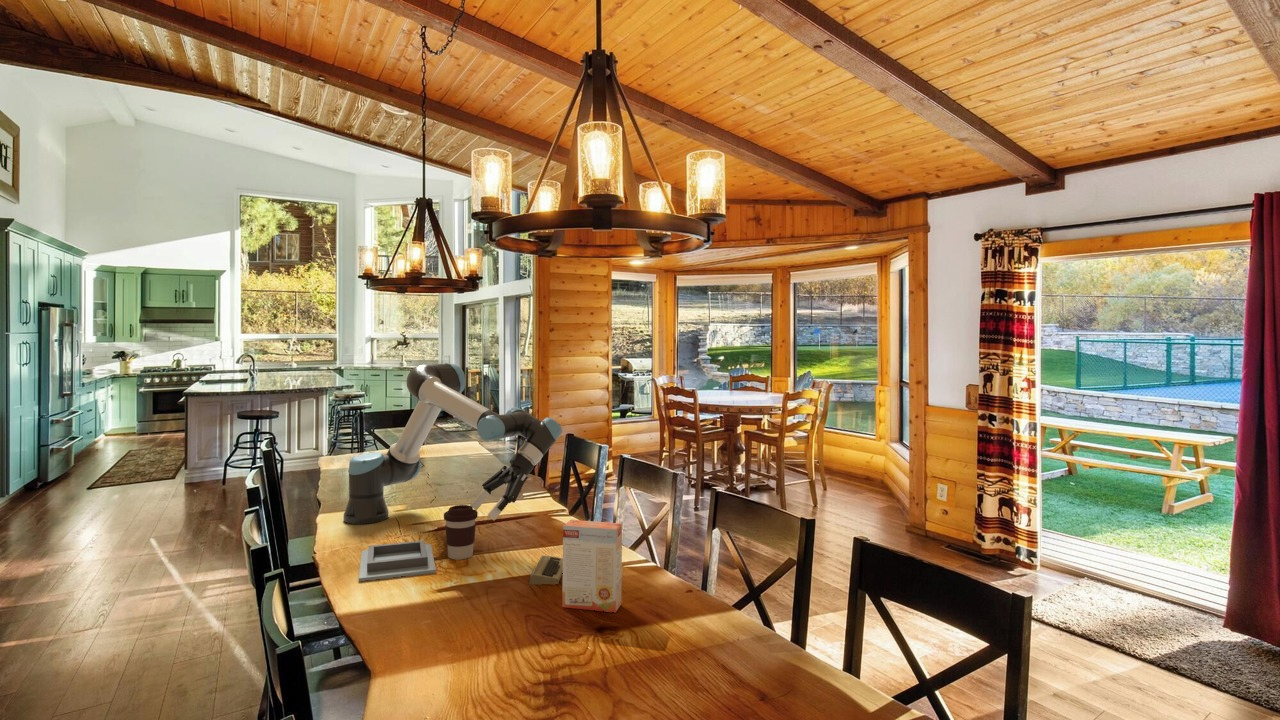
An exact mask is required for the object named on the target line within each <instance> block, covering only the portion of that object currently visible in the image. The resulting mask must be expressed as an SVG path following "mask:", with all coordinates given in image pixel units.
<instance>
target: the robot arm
mask: <svg viewBox="0 0 1280 720" xmlns="http://www.w3.org/2000/svg"><path fill="white" fill-rule="evenodd" d="M465 375H466V374H465V373H464V371H463V369H462V368H461V367H460V365H457V364H456V363H449V362H445V363H424V364H423V363H422V364H419V365H417V366H415V367H413V368H412V369H411V370H410V371H409V372H408V374H407V377H406V387H407V390H408V392H409V394H411V395H412V396H413V397H414V398H415V399H417V400H418V402H417V403H416V405H415V408H414V409H413V412H412V413H411V415H410V417H409V419H408V421H407V423H406V425H405V427H404V428H403V430H402V432H401V434H400V436H399V439H398V440H397V442H395V443H393V444H391V445H390V447H389V449H388V450H387V452H386V453H385V454H383V453H382V452H379V451H378V452H374V451H373V452H371V451H370V452H364V453H360V454H357V455H355V456H353V457H351V458H350V461H349V463H348V470H347V471H348V501H347V504H346V507H345V509H344V512H343V522H344V521H345V522H344V523H346V522H347V524H349V523H352V524H351V525H367V524H368V523H369V524H375V523H380V522H382V520H383V521H385V520H387V519H389V517H388V516H389V512H390V511H389V508H388V505H387V502H386V500H385V497H384V496H385V495H384V487H387V486H388V487H389V486H392V485H396V484H401V483H406V482H408V481H409V482H410V481H411V480H413V479H415V478H416V477H417V476H418V474H419V473H420V472H421V468H422V467H421V466H422V464H420V463H421V462H422V461H421V455H420V453H419V452H420V450H421V448H422V446H423V445H424V443H425V441H426V438H427V436H428V435H429V433H430V431H431V429H432V428H433V426H434V424H435V422H436V420H437V418H438V416H439V415H440V413H441V411H442V410H443V411H444V412H446V413H448V414H449V415H451V416H452V417H455V418H456V419H458V420H460V421H461V422H463V423H465V424H467V425H468V426H471V427H473V428H474V429H476V430H477V434H478V435H479V436H480V438H481V439H482V440H483V441H497V440H501V439H506V438H511V437H516V436H521V437H523V438H524V439H526V440H525V442H523V444H522V445H521V446H520V447H519V448H518V450H517V452H516V453H515V454H514V455H513V456H512V457H511V458H510V460H509V464H510V466H509V467H508V466H507V465H504V466H503V465H502V467H501V468H500V469H499V470H498V471H497V472H496V473H495V474H494V475H492V476H491V477H490V478H488V479H487V480H485V482H484V483H482V485H481V486H482V490H481V491H480V492H479V494H478V495H476V497H475V498H474V499H473V500H472V502H470V504H469V506H472V508H473V510H476V511H477V510H478V509H479V508H480V507H481V506H482V504H484V502H485V501H486V500H487V499H488V497H489V496H490V495H491V494H492V492H493V491H494V490H496V489H498V488H499V487H502V486H503V485H506V484H507V486H506V488H505V493H504V495H502V496H501V498H500V499H499V500H498V501H497V503H496V504H495V505H494V506H493V507H492V508H491V510H490V511H489V512H488V514H487V516H488V517H489V518H491V520H492V521H495V520H496V519H497V518H498V517H499V515H501V513H502V512H503V510H504V509H505V508H506V507H507V506H508V505H509V504H511V503H512V504H513V503H515V502H516V501H517V499H518V497H519V495H520V493H521V492H522V491H521V490H522V489H523V486H524V485H525V482H527V480H528V476H529V475H530V473H532V470H534V467H535V466H536V465H538V463H539V462H541V461H542V458H543V457H544V456H545V455H546V453H547V452H548V451H549V450H550V448H551V447H552V446H553V445H554V444H555V443H556V442H557V440H558V439H559V438H560V436H561V435H562V433H563V428H562V426H561V425H560V423H558V422H557V421H556V420H555V419H553V418H551V417H549V416H548V417H545V418H544V419H542V420H541V419H538V418H536V417H535V416H533V415H532V414H530V413H529V412H527V411H526V410H524V409H521V408H520V407H517V406H514V407H510V409H508V410H507V411H506V413H505V414H499V413H497V412H494V411H493V410H491V409H490V408H488V407H486V406H484V405H482V404H481V403H479V402H477V401H475V400H473V399H471V398H469V397H468V396H466V395H464V394H462V392H464V390H465V387H466V385H467V384H466V383H467V381H466V377H465ZM477 512H478V511H477ZM386 518H387V519H386ZM379 521H380V522H379ZM366 523H367V524H366ZM369 524H368V525H369Z"/></svg>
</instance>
